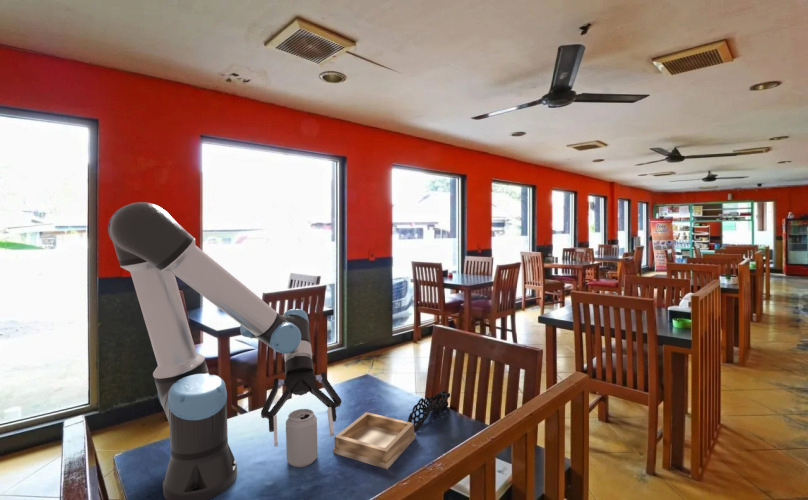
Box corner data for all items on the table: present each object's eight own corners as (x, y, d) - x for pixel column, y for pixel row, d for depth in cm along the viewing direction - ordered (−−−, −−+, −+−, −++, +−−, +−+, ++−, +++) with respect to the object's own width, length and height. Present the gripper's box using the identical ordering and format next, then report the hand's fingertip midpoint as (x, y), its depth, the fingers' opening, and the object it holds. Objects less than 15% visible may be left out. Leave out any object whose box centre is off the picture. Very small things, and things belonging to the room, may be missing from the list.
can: (307, 471, 96) (306, 423, 95) (280, 465, 98) (279, 418, 98) (323, 454, 103) (322, 409, 102) (298, 449, 106) (296, 405, 105)
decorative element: (418, 435, 113) (419, 414, 113) (403, 430, 116) (403, 410, 115) (452, 404, 132) (452, 387, 132) (438, 401, 135) (439, 383, 134)
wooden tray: (333, 452, 104) (332, 437, 104) (366, 425, 118) (365, 411, 118) (387, 469, 97) (387, 452, 96) (415, 437, 111) (415, 423, 111)
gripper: (341, 361, 120) (352, 435, 107) (251, 372, 112) (251, 453, 99) (344, 349, 114) (356, 425, 101) (250, 359, 106) (250, 443, 93)
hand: (304, 439), depth 100 cm, fingers open, 13 cm apart
